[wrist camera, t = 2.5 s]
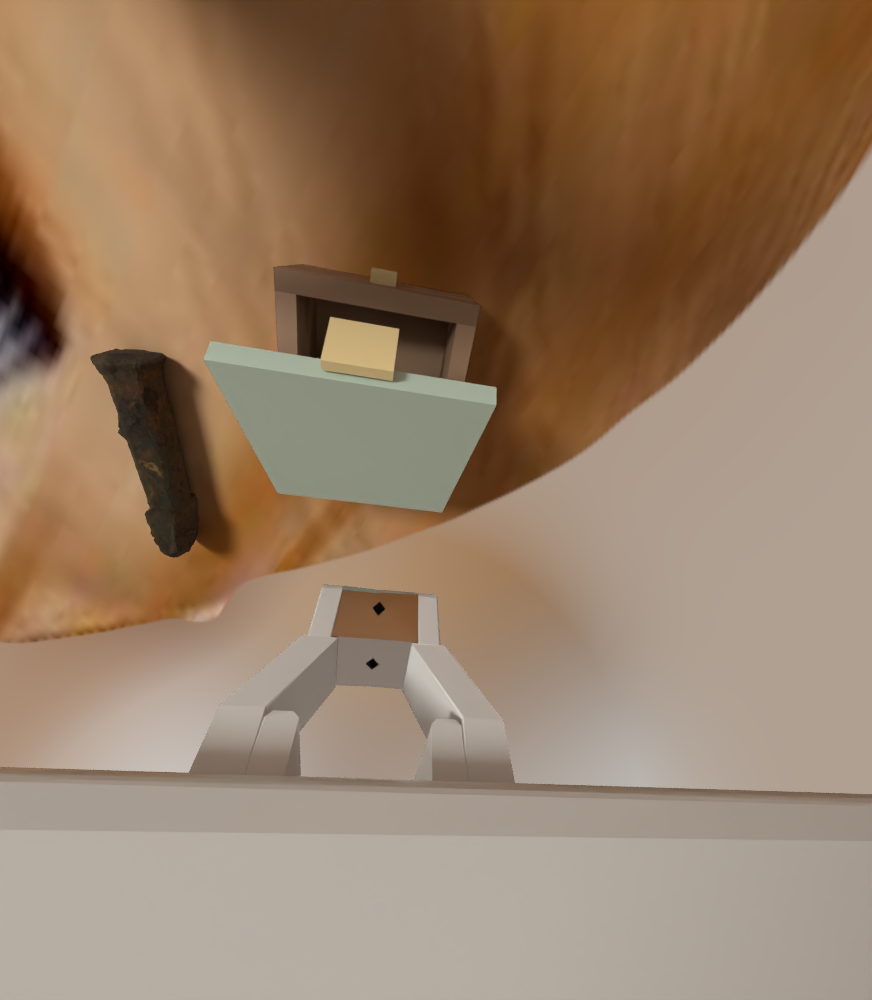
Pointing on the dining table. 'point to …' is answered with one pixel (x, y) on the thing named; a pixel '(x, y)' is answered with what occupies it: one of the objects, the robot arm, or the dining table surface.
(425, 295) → the box
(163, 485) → the dark brown rough bar
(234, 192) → the dining table surface
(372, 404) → the lid
